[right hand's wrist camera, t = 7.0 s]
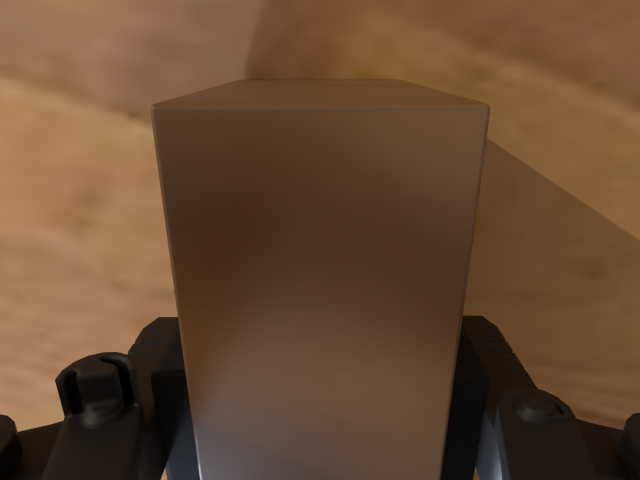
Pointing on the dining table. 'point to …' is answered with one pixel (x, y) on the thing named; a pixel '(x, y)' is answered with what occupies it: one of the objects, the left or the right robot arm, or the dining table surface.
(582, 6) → the dining table surface
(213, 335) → the beam
